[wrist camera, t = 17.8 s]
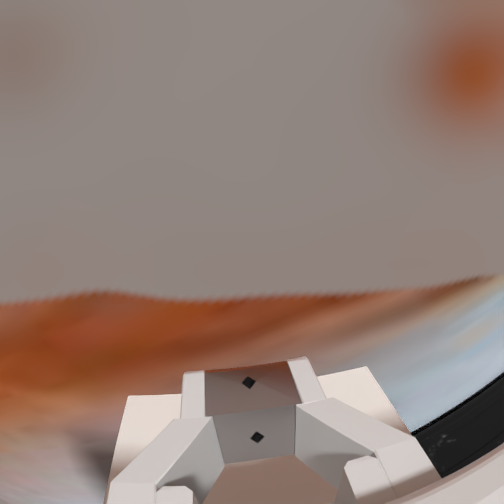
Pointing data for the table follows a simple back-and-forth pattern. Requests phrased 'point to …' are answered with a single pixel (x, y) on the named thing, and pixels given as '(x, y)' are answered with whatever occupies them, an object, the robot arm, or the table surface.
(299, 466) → the tray
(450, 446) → the radio cassette player
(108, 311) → the table surface
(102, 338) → the table surface
